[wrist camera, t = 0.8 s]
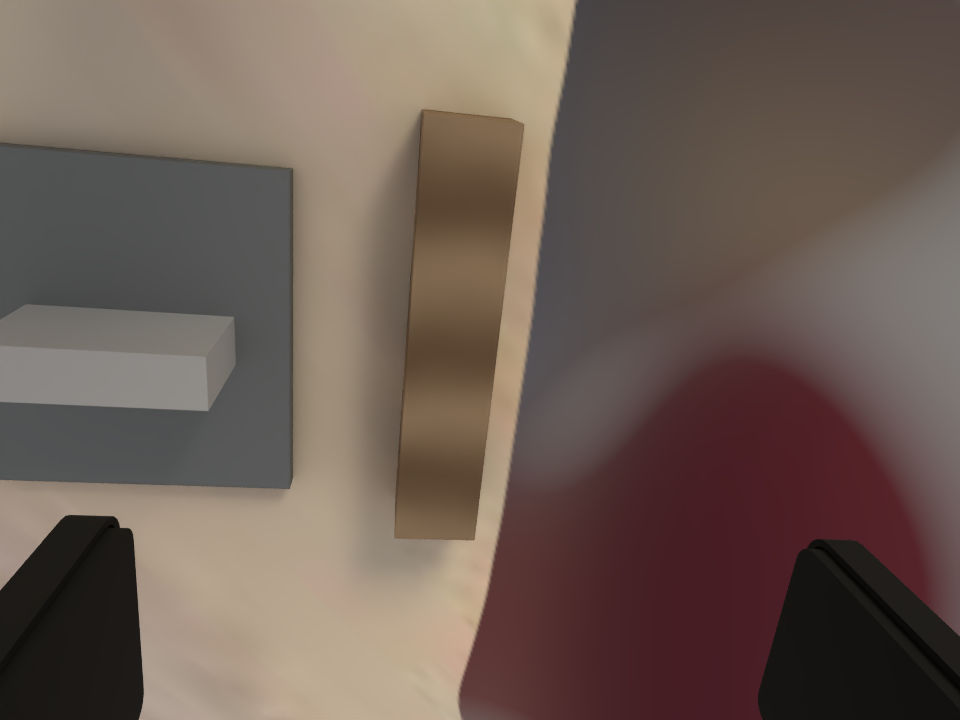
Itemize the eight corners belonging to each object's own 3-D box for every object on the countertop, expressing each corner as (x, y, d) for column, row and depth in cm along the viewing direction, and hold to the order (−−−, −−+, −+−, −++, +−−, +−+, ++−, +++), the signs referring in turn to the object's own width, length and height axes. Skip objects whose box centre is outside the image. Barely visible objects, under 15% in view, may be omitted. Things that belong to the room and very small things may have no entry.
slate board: (-49, 138, 29) (-154, 153, 24) (292, 168, 31) (268, 188, 26) (8, 469, 35) (-66, 542, 30) (292, 478, 37) (272, 549, 32)
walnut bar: (421, 109, 31) (424, 113, 27) (510, 118, 32) (524, 124, 28) (395, 493, 38) (394, 538, 35) (467, 496, 39) (474, 540, 35)
